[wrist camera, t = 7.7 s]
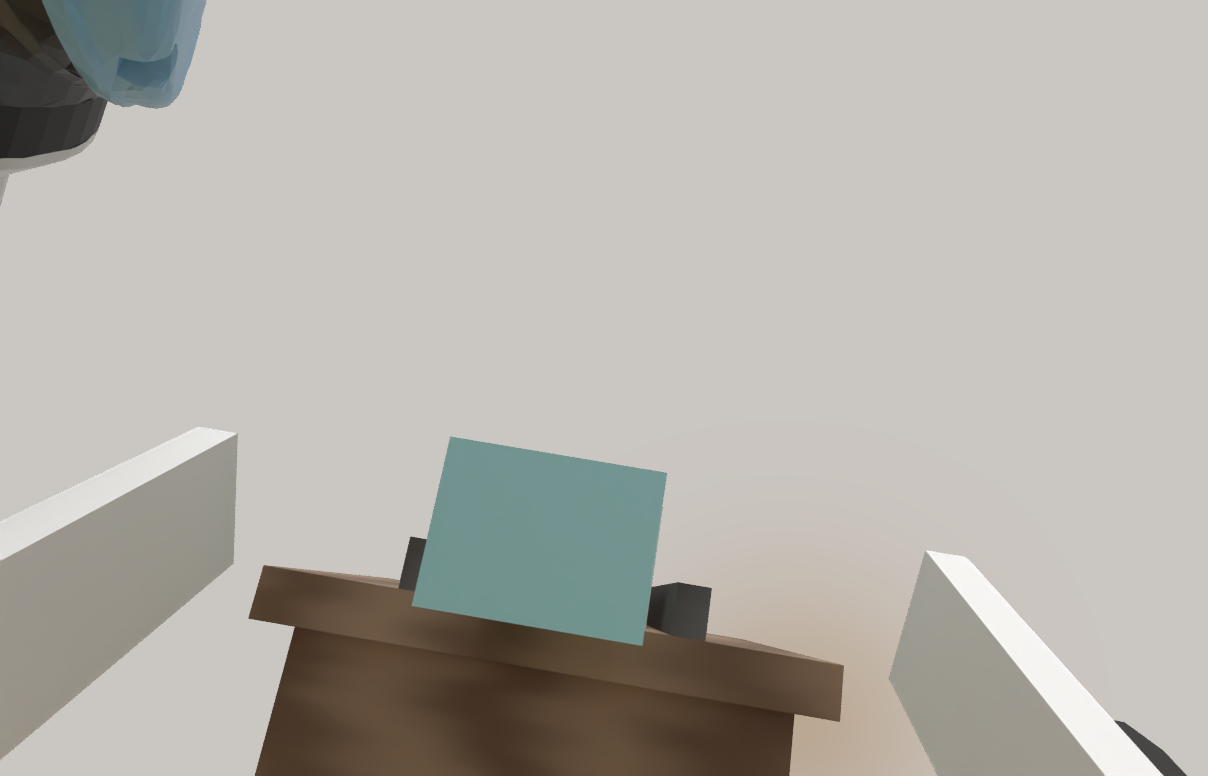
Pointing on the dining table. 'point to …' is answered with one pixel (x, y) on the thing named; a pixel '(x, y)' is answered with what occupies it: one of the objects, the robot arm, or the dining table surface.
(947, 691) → the robot arm
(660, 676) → the wood-grain storage bin
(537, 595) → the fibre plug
